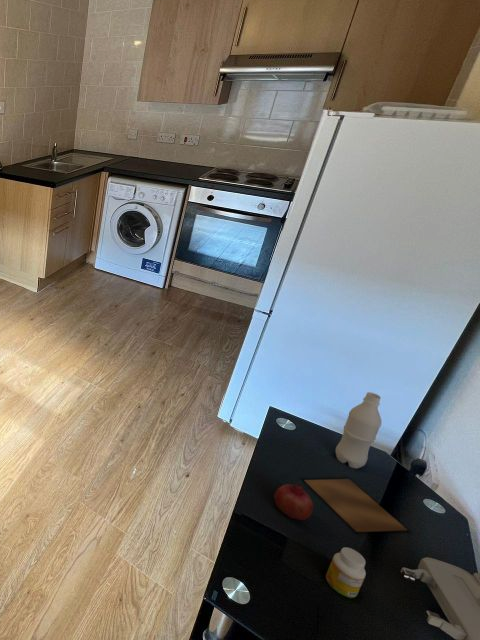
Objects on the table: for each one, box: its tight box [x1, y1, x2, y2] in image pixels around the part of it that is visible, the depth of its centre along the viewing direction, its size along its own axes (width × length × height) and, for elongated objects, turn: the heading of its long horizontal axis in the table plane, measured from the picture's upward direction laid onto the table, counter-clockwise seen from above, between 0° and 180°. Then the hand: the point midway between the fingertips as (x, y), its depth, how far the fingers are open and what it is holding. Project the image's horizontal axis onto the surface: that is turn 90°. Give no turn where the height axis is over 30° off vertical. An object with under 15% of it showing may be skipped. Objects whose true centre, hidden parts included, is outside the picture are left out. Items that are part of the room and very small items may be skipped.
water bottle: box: [334, 392, 382, 469], centre depth 123 cm, size 7×7×25 cm
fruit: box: [273, 483, 314, 521], centre depth 108 cm, size 8×8×10 cm
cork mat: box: [303, 478, 408, 533], centre depth 112 cm, size 16×14×1 cm
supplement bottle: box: [325, 547, 367, 599], centre depth 90 cm, size 5×5×10 cm
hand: (414, 593), depth 85 cm, fingers open, 8 cm apart
